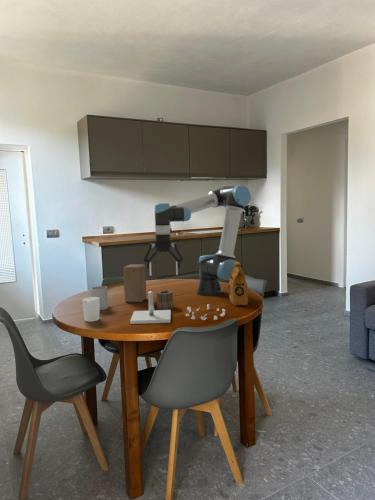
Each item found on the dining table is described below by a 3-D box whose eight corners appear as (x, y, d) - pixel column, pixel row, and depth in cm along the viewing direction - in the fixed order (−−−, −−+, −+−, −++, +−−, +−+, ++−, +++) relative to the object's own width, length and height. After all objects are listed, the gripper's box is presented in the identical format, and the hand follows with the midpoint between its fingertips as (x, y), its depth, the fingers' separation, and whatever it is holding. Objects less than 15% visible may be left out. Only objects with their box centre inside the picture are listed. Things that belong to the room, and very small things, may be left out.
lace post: (154, 314, 176) (153, 291, 175) (153, 315, 174) (152, 292, 173) (149, 314, 176) (148, 291, 175) (148, 315, 174) (147, 292, 173)
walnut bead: (172, 305, 198) (172, 290, 197) (172, 309, 190) (172, 293, 190) (157, 305, 198) (157, 290, 197) (157, 309, 190) (156, 294, 189)
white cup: (85, 317, 179) (83, 297, 178) (101, 316, 179) (100, 296, 178) (81, 322, 171) (80, 301, 170) (99, 321, 172) (98, 300, 171)
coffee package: (230, 306, 192) (229, 264, 190) (228, 300, 205) (227, 261, 202) (249, 306, 192) (249, 264, 190) (246, 300, 204) (246, 260, 202)
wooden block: (141, 302, 205) (140, 266, 203) (124, 302, 207) (122, 266, 205) (147, 298, 214) (145, 264, 212) (130, 298, 216) (129, 264, 214)
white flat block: (170, 312, 183) (170, 309, 183) (170, 322, 167) (170, 319, 167) (134, 314, 183) (133, 311, 183) (130, 324, 167) (130, 320, 167)
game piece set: (177, 316, 179) (176, 308, 179) (205, 307, 193) (205, 300, 192) (206, 324, 165) (206, 315, 165) (235, 314, 179) (234, 306, 179)
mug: (105, 310, 191) (104, 289, 189) (89, 310, 192) (87, 289, 190) (112, 304, 202) (111, 284, 201) (97, 304, 204) (96, 284, 202)
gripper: (137, 234, 186) (138, 276, 188) (187, 233, 187) (188, 275, 189) (138, 233, 193) (140, 274, 196) (186, 232, 194) (187, 273, 196)
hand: (163, 274), depth 192 cm, fingers open, 13 cm apart
